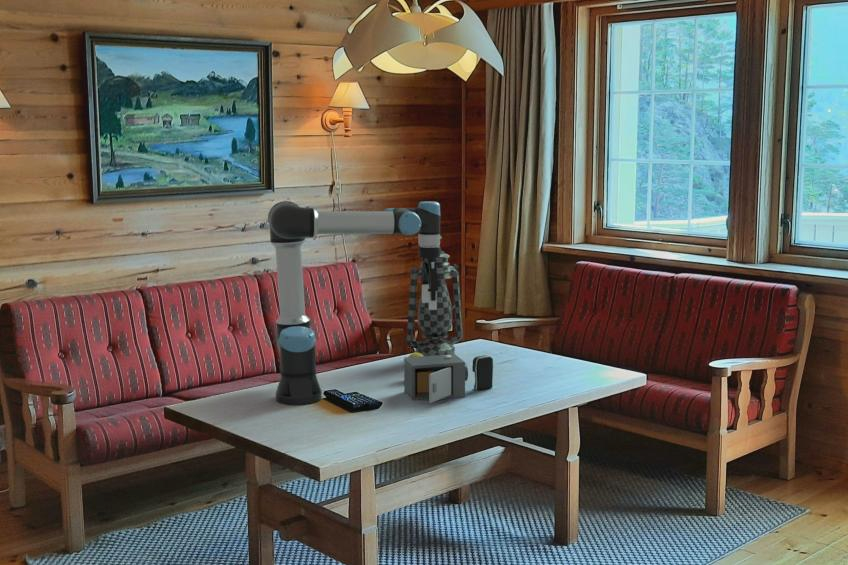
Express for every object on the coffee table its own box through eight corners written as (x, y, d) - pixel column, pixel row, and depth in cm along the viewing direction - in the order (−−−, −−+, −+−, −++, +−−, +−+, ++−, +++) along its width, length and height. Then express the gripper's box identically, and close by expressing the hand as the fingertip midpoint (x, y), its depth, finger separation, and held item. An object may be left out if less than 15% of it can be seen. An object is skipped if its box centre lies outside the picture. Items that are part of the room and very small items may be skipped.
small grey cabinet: (413, 401, 336) (412, 363, 334) (404, 391, 348) (404, 355, 346) (470, 396, 341) (470, 359, 339) (460, 387, 353) (460, 351, 351)
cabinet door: (432, 403, 329) (432, 374, 328) (429, 402, 330) (429, 374, 328) (452, 394, 339) (452, 367, 337) (449, 394, 339) (449, 366, 338)
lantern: (416, 370, 377) (416, 249, 370) (396, 359, 393) (395, 244, 386) (473, 363, 388) (474, 246, 380) (452, 353, 404) (452, 240, 396)
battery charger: (486, 385, 355) (486, 353, 353) (493, 388, 352) (493, 355, 350) (470, 388, 351) (470, 356, 349) (477, 391, 348) (477, 358, 346)
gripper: (446, 250, 342) (446, 312, 346) (433, 241, 367) (433, 299, 370) (425, 250, 341) (424, 313, 344) (412, 241, 365) (412, 300, 369)
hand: (429, 306), depth 357 cm, fingers open, 13 cm apart
